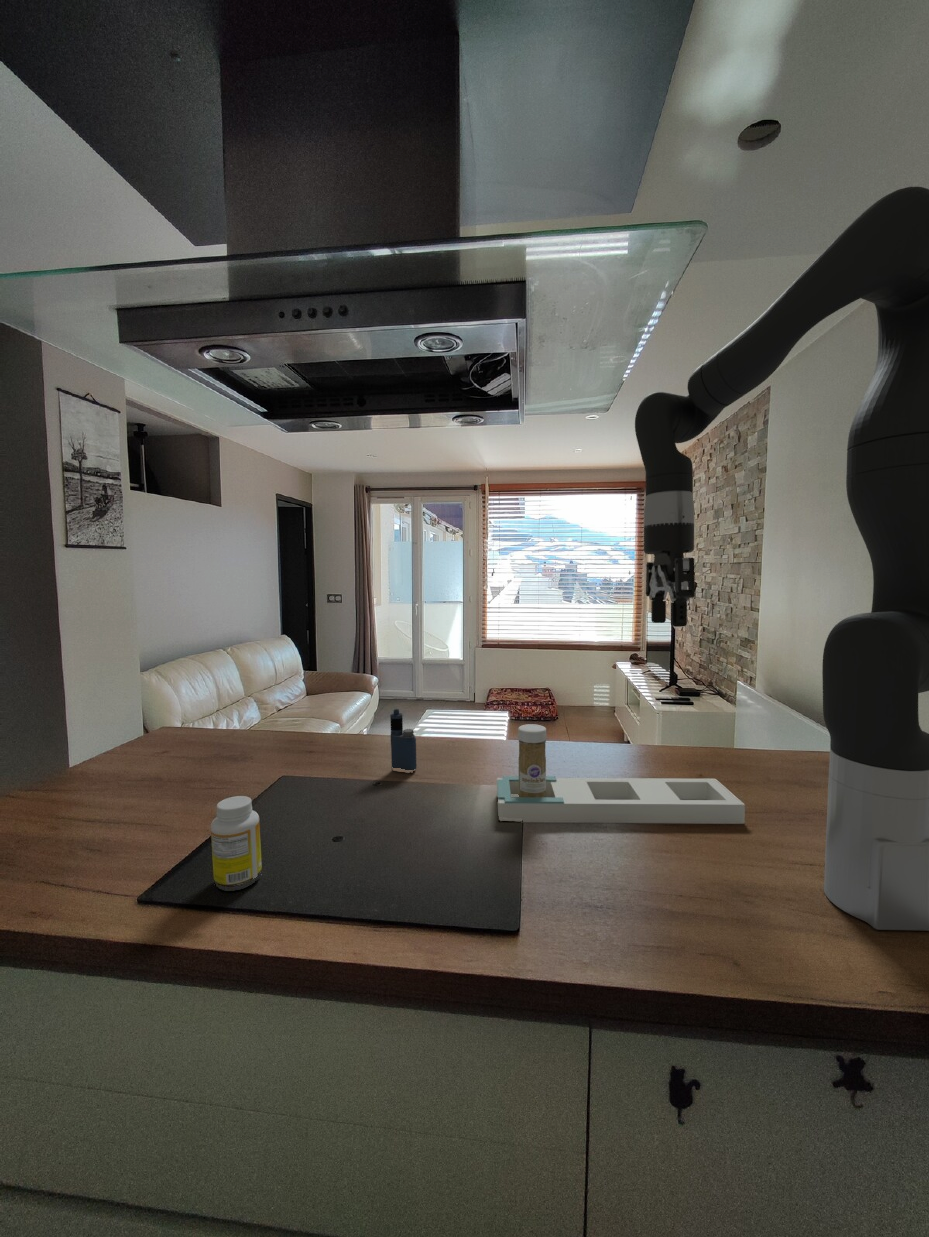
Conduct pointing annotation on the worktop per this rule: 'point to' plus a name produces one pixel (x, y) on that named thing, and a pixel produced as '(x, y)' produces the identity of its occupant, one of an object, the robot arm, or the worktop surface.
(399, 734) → the vaping device
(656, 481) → the robot arm
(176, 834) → the worktop surface
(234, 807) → the supplement bottle
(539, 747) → the sprinkles bottle
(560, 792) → the rail
